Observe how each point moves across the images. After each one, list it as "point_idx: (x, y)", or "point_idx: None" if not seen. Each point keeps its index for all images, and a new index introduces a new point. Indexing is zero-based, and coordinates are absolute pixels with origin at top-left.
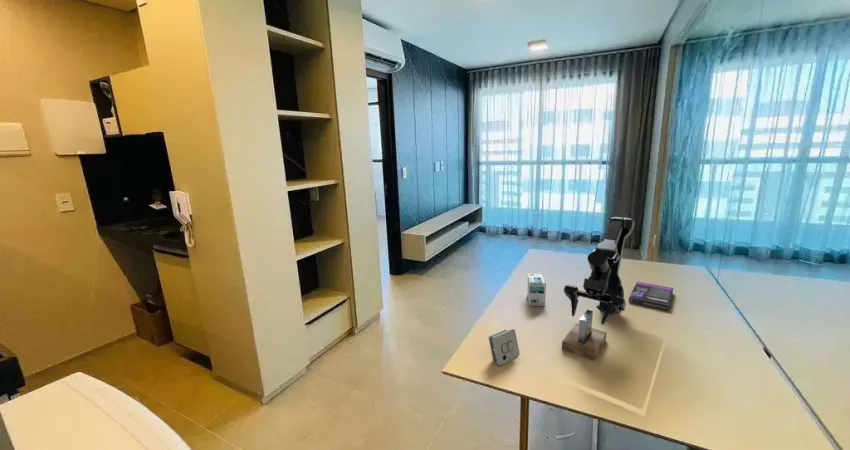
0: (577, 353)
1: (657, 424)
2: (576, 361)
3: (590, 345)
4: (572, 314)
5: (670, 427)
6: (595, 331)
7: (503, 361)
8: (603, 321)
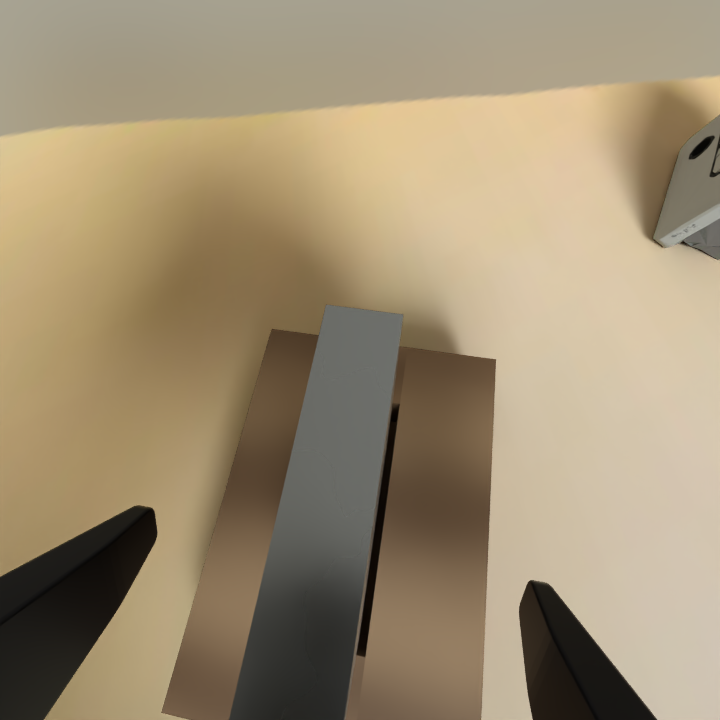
0: None
1: (95, 142)
2: None
3: (301, 396)
4: (547, 590)
5: (59, 147)
6: None
7: (687, 153)
8: (107, 523)
